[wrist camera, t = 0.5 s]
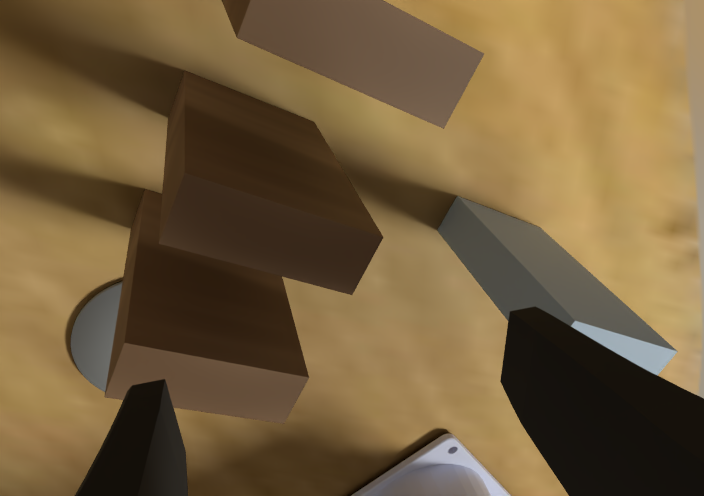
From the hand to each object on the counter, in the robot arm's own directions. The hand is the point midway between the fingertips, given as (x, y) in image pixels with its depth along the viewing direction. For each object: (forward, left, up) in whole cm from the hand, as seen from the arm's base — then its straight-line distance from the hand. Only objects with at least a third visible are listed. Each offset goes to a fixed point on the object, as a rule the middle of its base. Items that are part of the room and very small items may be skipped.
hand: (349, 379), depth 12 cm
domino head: (-7, -5, -10) cm, 13 cm away
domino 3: (+1, +3, -10) cm, 10 cm away
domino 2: (+3, -1, -10) cm, 10 cm away
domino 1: (+5, -4, -10) cm, 12 cm away
